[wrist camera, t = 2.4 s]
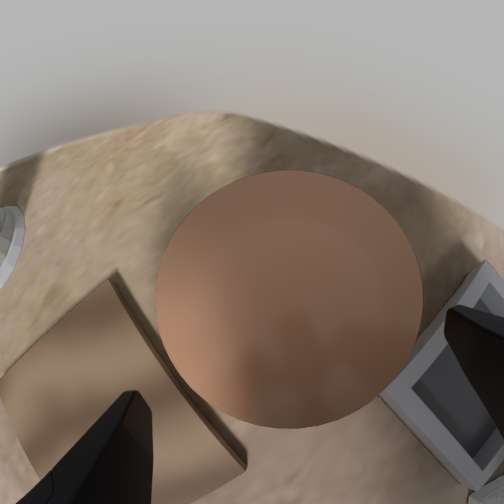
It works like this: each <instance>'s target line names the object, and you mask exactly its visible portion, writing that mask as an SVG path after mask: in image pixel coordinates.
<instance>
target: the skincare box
mask: <svg viewBox="0 0 504 504" xmlns="http://www.w3.org/2000/svg"><path fill="white" fill-rule="evenodd" d="M468 504H504V475H502V476H500V477H499V478H497V479H495V480H493V481H492V482H490V483H488V484H486V485H484V486H483V487H482V488H481V489H480V490H479V491H478V492H476V491H474V492H472V493H471V494H470V495H469V499H468Z"/></svg>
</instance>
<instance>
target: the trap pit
mask: <svg viewBox="0 0 504 504" xmlns="http://www.w3.org/2000/svg"><path fill="white" fill-rule="evenodd" d="M458 304H460V305H464V306H467V307H471V308H474V309H477V310H481V311H484V312H487V313H491V314H494V315H497V316H501V317H504V280H503V279H502V278H501V276H500V275H499V274H498V273H497V271H496V270H495V269H494V268H493V267H492V265H491V264H490V263H489V262H488V261H487V260H484V261H483V262H482V263H480V264H479V265H478V266H476V267H475V268H474V269H472V270H471V271H470V272H468V273H467V274H466V276H465V277H464V279H463V280H462V282H461V283H460V284H459V286H458V287H457V289H456V290H455V291H454V293H453V294H452V296H451V297H450V298H449V300H448V301H447V302H446V304H445V305H444V306H443V308H442V309H441V310H440V312H439V313H438V314H437V315H436V317H435V318H434V319H433V320H432V322H431V323H430V324H429V325H428V327H427V328H426V329H425V330H424V331H423V333H422V334H421V335H420V336H419V337H418V339H417V340H416V342H415V344H414V346H413V348H412V351H411V353H410V355H409V357H408V359H407V361H406V362H405V364H404V366H403V367H402V369H401V370H400V372H399V373H398V375H397V376H396V377H395V378H394V380H393V381H392V382H391V383H390V384H389V385H388V387H387V388H386V389H385V390H383V391H382V392H381V393H380V394H379V395H378V397H379V398H380V399H381V400H382V401H383V402H384V403H385V404H386V405H387V406H388V407H389V409H390V410H391V411H392V412H393V413H394V414H395V415H396V416H397V417H398V418H399V419H400V421H401V422H402V423H403V424H404V425H405V426H406V427H407V428H408V429H409V430H410V431H411V432H412V434H413V435H414V436H415V437H416V438H417V439H418V440H419V441H420V442H421V443H422V444H423V446H424V447H425V448H426V449H427V450H428V451H429V452H430V453H431V454H432V455H433V456H434V457H435V459H436V460H437V461H438V462H439V463H440V464H441V465H442V466H443V467H444V468H445V469H446V470H447V472H448V473H449V474H450V475H451V476H452V477H453V478H454V479H455V480H456V481H457V482H458V483H459V484H461V485H463V486H465V487H468V488H470V489H472V490H474V491H476V492H478V491H479V490H480V489H481V488H482V486H483V485H484V484H485V483H486V482H487V481H488V479H489V478H490V477H491V476H492V474H493V473H494V472H495V471H496V469H497V468H498V467H499V466H500V464H501V463H502V462H503V460H504V440H503V438H502V436H501V434H500V432H499V430H498V429H497V427H496V425H495V423H494V422H493V420H492V418H491V417H490V415H489V413H488V411H487V410H486V408H485V406H484V405H483V403H482V402H481V400H480V398H479V397H478V395H477V393H476V392H475V390H474V389H473V387H472V386H471V384H470V382H469V381H468V379H467V378H466V376H465V374H464V372H463V371H462V369H461V367H460V365H459V363H458V361H457V359H456V357H455V355H454V353H453V352H452V350H451V348H450V346H449V344H448V342H447V341H446V339H445V336H444V325H445V318H446V312H447V310H448V309H449V308H450V307H453V306H455V305H458Z"/></svg>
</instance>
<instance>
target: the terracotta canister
mask: <svg viewBox="0 0 504 504" xmlns="http://www.w3.org/2000/svg"><path fill="white" fill-rule="evenodd" d="M155 309H156V317H157V324H158V328H159V332H160V335H161V339H162V342H163V345H164V347H165V349H166V351H167V354H168V356H169V358H170V360H171V361H172V363H173V365H174V366H175V368H176V369H177V371H178V373H179V374H180V375H181V377H182V378H183V379H184V380H185V381H186V383H187V384H188V385H189V386H190V387H191V388H192V389H193V390H194V391H195V392H196V393H197V394H198V395H199V396H201V397H202V398H203V399H204V400H205V401H207V402H208V403H210V404H211V405H213V406H214V407H216V408H217V409H219V410H220V411H222V412H224V413H226V414H228V415H230V416H232V417H235V418H237V419H239V420H242V421H245V422H248V423H252V424H255V425H259V426H265V427H272V428H305V427H312V426H318V425H322V424H325V423H329V422H332V421H335V420H338V419H340V418H343V417H345V416H347V415H349V414H351V413H353V412H355V411H357V410H359V409H360V408H362V407H363V406H365V405H366V404H368V403H369V402H371V401H372V400H373V399H374V398H376V397H377V396H378V395H379V394H380V393H381V392H382V391H383V390H385V389H386V388H387V387H388V385H389V384H390V383H391V382H392V381H393V380H394V378H395V377H396V376H397V375H398V373H399V372H400V370H401V369H402V367H403V366H404V364H405V362H406V361H407V359H408V357H409V355H410V353H411V351H412V348H413V346H414V344H415V342H416V338H417V335H418V331H419V328H420V324H421V317H422V310H423V287H422V280H421V273H420V269H419V266H418V262H417V258H416V256H415V253H414V251H413V249H412V246H411V244H410V242H409V240H408V238H407V237H406V235H405V233H404V231H403V230H402V228H401V227H400V226H399V224H398V223H397V222H396V220H395V219H394V218H393V216H392V215H391V214H390V213H389V212H388V211H387V210H386V209H385V208H384V207H383V206H382V205H381V204H380V203H378V202H377V201H376V200H375V199H373V198H372V197H371V196H370V195H368V194H367V193H365V192H363V191H362V190H360V189H359V188H357V187H355V186H353V185H351V184H349V183H347V182H345V181H343V180H340V179H337V178H334V177H331V176H328V175H324V174H320V173H315V172H309V171H299V170H280V171H271V172H264V173H260V174H256V175H252V176H248V177H246V178H243V179H240V180H237V181H235V182H233V183H231V184H229V185H227V186H225V187H223V188H221V189H219V190H218V191H216V192H215V193H213V194H212V195H210V196H208V197H207V198H206V199H205V200H204V201H202V202H201V203H200V204H199V205H197V206H196V207H195V208H194V209H193V210H192V212H191V213H190V214H189V215H188V216H187V217H186V218H185V219H184V220H183V222H182V223H181V224H180V226H179V227H178V228H177V230H176V231H175V233H174V235H173V237H172V238H171V240H170V242H169V244H168V246H167V248H166V250H165V253H164V255H163V258H162V261H161V264H160V268H159V272H158V276H157V283H156V290H155Z"/></svg>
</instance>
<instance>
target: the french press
mask: <svg viewBox="0 0 504 504" xmlns="http://www.w3.org/2000/svg"><path fill="white" fill-rule="evenodd" d="M24 232H25V224H24V215H23V213H22V212H21V211H20V209H19V208H18V207H16V206H6V207H3V208H2V207H0V288H1V287H2V286H3V285H4V284H5V282H6V281H7V279H8V277H9V276H10V274H11V273H12V271H13V269H14V268H15V265H16V262H17V259H18V257H19V254H20V251H21V249H22V244H23V238H24Z"/></svg>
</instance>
